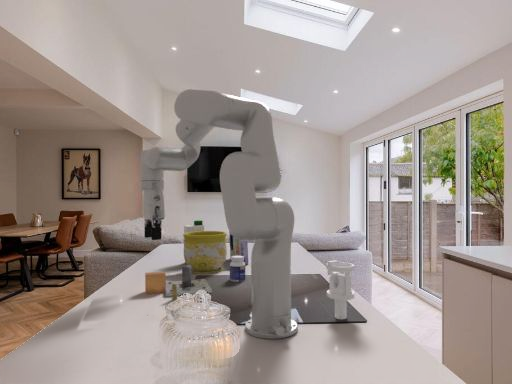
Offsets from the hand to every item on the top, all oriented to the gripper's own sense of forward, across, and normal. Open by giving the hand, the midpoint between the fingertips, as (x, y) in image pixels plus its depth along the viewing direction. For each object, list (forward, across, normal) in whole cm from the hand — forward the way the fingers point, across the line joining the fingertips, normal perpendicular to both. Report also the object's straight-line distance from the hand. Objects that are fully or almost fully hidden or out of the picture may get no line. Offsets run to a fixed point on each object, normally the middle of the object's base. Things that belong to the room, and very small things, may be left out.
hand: (152, 238), depth 122 cm
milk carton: (+18, +36, -31) cm, 51 cm away
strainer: (+18, -55, -33) cm, 66 cm away
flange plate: (+16, -9, -5) cm, 19 cm away
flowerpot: (+18, +16, -27) cm, 36 cm away
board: (+18, -10, -8) cm, 22 cm away
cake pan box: (+18, +29, -50) cm, 61 cm away
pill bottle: (+18, -9, -28) cm, 35 cm away
